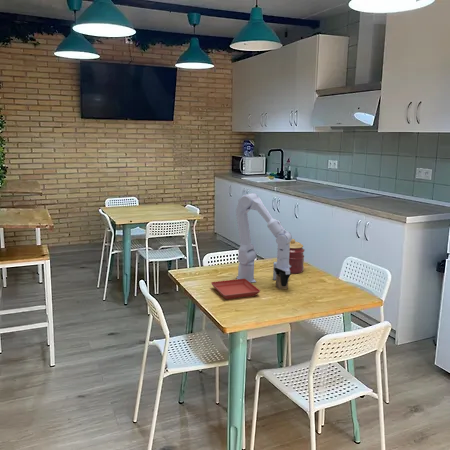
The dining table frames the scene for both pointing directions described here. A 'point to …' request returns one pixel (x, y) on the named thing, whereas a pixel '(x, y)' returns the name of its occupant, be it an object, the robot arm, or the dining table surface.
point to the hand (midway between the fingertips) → (281, 284)
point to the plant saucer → (235, 288)
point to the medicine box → (274, 272)
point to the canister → (296, 257)
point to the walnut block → (278, 283)
